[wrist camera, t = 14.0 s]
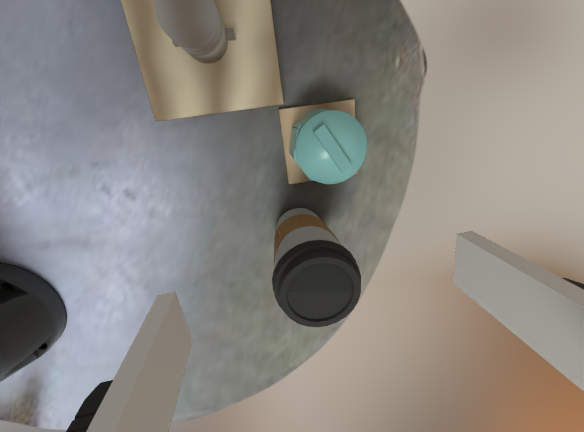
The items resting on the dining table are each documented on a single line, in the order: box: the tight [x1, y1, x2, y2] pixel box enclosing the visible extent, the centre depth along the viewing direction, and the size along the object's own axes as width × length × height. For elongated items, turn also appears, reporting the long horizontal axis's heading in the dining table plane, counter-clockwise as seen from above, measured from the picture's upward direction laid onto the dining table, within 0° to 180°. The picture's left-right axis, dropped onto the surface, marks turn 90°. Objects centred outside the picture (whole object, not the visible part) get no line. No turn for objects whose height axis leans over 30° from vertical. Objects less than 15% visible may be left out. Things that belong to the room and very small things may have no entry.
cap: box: [289, 109, 367, 184], centre depth 31 cm, size 7×7×7 cm
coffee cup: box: [272, 208, 361, 327], centre depth 31 cm, size 8×8×15 cm
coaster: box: [279, 99, 358, 184], centre depth 34 cm, size 9×9×1 cm
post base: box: [121, 0, 284, 121], centre depth 25 cm, size 14×14×10 cm
